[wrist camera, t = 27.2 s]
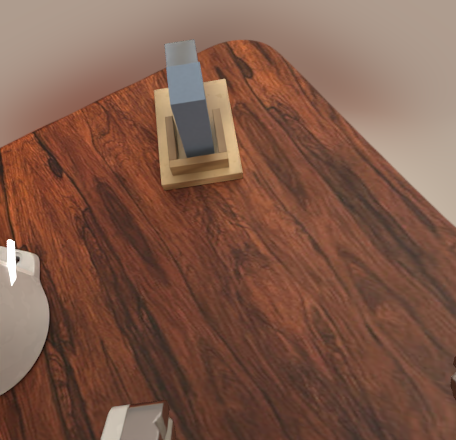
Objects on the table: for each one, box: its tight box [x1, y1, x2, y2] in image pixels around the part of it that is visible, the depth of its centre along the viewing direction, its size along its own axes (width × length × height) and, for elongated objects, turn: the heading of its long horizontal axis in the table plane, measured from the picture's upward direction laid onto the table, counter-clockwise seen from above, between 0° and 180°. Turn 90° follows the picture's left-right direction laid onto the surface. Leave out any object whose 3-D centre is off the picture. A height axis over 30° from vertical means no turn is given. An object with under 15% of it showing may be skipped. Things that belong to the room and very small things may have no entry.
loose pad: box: [166, 62, 215, 158], centre depth 40 cm, size 4×5×10 cm
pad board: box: [154, 39, 243, 190], centre depth 42 cm, size 10×15×10 cm, turn 8°
